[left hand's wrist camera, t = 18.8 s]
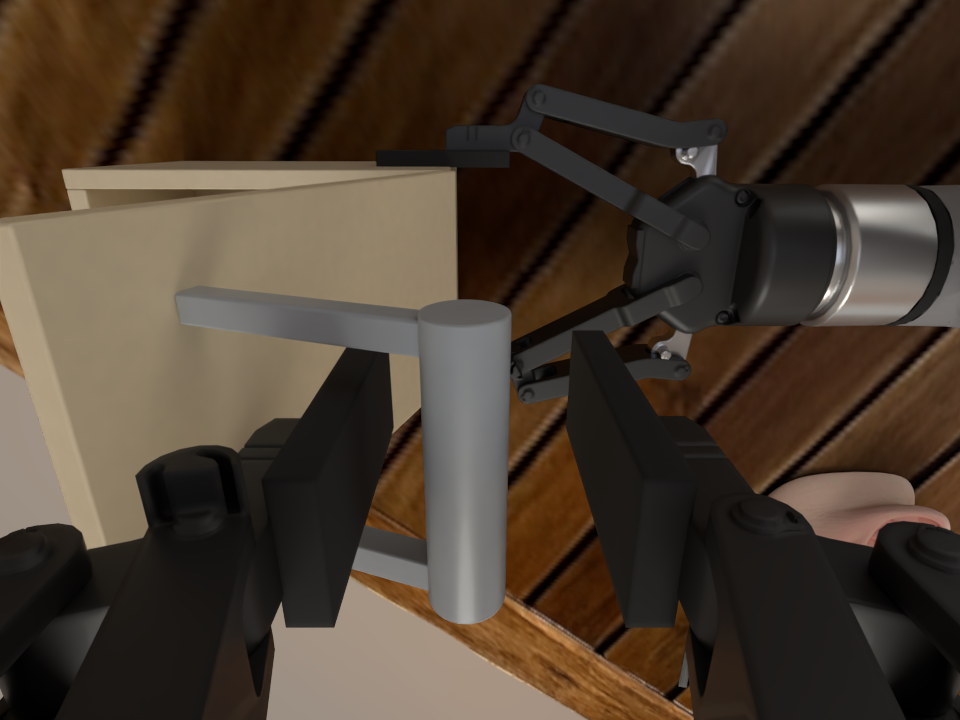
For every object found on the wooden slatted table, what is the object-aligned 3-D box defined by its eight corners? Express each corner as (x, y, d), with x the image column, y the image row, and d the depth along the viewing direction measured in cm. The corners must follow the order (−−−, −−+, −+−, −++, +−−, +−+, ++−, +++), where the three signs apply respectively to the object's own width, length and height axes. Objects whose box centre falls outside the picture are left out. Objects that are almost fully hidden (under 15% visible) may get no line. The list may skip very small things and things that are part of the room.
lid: (113, 660, 12) (448, 799, 10) (-28, 220, 9) (432, 254, 6) (442, 370, 27) (604, 393, 25) (438, 170, 24) (624, 174, 22)
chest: (209, 306, 38) (111, 367, 28) (183, 160, 34) (60, 169, 24) (458, 307, 38) (451, 367, 28) (456, 161, 34) (447, 169, 24)
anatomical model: (740, 617, 42) (789, 489, 38) (719, 579, 46) (762, 458, 42) (908, 633, 43) (975, 509, 39) (874, 594, 47) (932, 477, 42)
